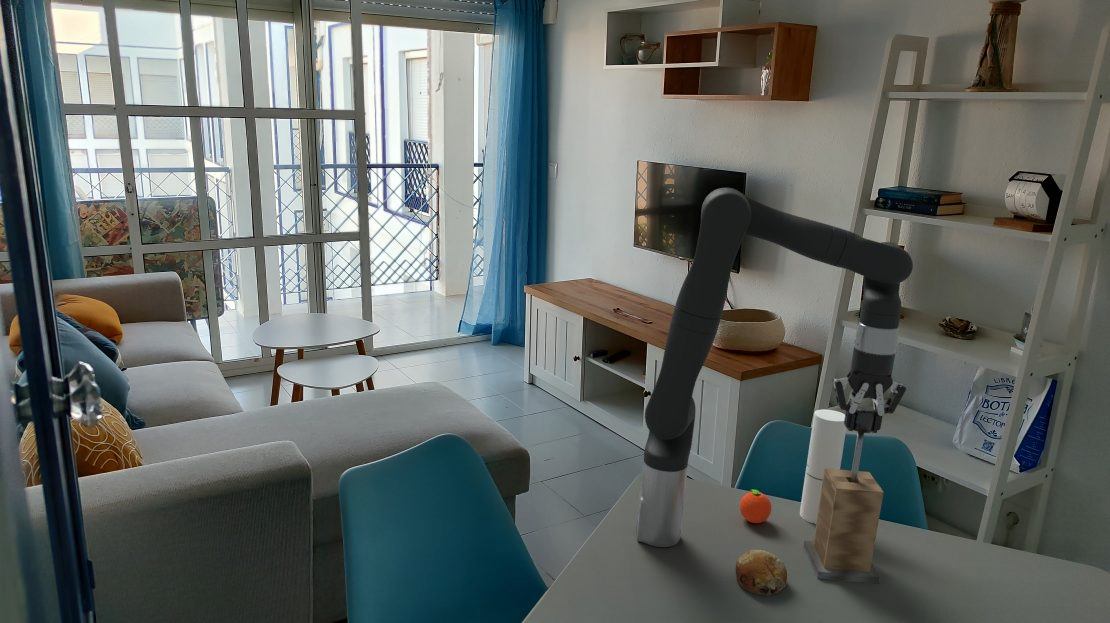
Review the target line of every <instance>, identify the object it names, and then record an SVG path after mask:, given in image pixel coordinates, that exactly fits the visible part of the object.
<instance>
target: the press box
mask: <svg viewBox="0 0 1110 623" xmlns="http://www.w3.org/2000/svg"><path fill="white" fill-rule="evenodd" d="M851 471H852V470H849V469H848V470H847V469H840V470H838V469H825V470H824V477H823V483H822V490H821V497H820V503H819V510H818V516H817V523H816V524H815V530H814V536H813V537H814V538H813V540H807V539H804V541H803V549H804V551H805V553H806V555H807V558H808V560H809V562H810V565H811V567H812V569H813V571H814V574H815V576H816V578H817V579H823V580H831V581H832V580H833V581H845V582H853V583H854V582H857V583H867V584H879V583H880V579H881V576H880V574H879V573H878V571H877V570H876V568H875V565H874V564H873V555H874V550H875V544H876V538H877V533H878V526H879V520H880V515H881V509H882V503H883V498H884V491H883V489H882V488H881V486H880V485H879V484H878V482H877V481H876V480H875V478H874V477H873V476H872V474H871V472H869V471H862V470H861V471H860V470H858V475H857V481H856V483H853V482H850V477H851Z"/></svg>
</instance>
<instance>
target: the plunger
mask: <svg viewBox="0 0 1110 623" xmlns="http://www.w3.org/2000/svg"><path fill="white" fill-rule="evenodd" d="M855 414H856V416H855V422H854V428H853V431H854V432H857V436H856V441H855V446H854V454H853V460H852V466H851V470H850V471H851V477H850V482H853V483H856V481H857V475H858V471H859V467H860V460H861V454H862V449H863V443H864V438H865V434H870V433H872V430H873V424H874V418H875V410H874V408H870V407H868V406H862V405H861V406H859V405H858V407H857V409H856V411H855Z"/></svg>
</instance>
